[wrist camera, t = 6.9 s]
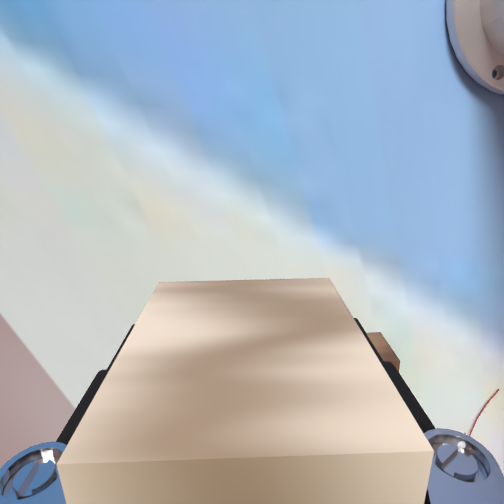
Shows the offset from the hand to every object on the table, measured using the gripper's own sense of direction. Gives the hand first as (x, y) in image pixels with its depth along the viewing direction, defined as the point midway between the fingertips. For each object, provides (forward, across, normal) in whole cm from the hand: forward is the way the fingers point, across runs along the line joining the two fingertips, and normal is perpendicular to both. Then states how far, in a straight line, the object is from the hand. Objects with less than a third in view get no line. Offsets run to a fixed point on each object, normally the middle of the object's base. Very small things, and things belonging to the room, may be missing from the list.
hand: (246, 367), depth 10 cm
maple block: (+1, 0, 0) cm, 1 cm away
